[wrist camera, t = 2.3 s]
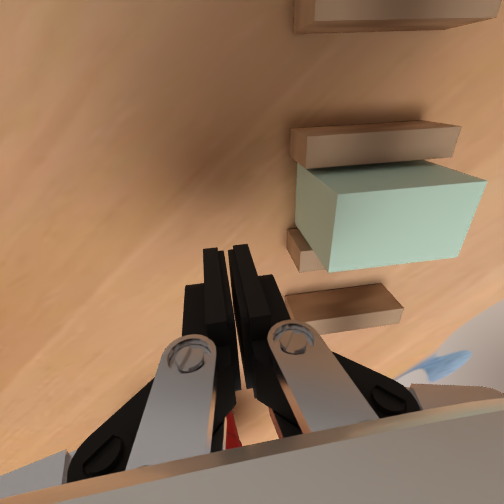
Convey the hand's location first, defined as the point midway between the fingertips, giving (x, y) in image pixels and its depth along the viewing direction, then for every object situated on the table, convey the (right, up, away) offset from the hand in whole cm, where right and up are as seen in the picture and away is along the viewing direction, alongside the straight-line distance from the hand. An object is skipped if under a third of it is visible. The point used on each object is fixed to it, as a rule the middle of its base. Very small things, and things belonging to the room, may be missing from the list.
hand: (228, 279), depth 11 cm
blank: (+7, +5, +7) cm, 12 cm away
